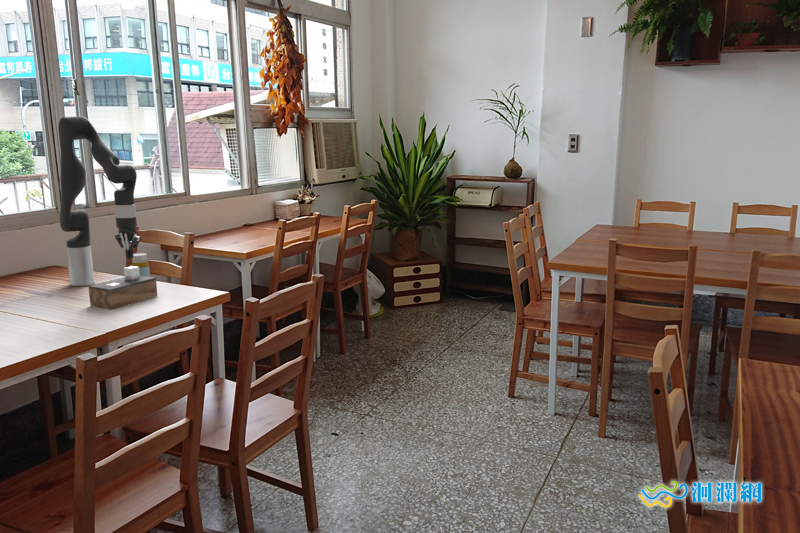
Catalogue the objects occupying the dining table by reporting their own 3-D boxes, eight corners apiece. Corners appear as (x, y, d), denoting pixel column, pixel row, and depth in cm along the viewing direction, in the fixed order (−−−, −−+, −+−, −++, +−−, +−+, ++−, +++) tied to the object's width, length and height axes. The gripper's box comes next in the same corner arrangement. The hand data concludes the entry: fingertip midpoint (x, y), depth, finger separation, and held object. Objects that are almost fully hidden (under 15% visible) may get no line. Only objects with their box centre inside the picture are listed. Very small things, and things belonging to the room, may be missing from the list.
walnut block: (90, 305, 233) (88, 285, 231) (136, 292, 252) (135, 274, 251) (111, 309, 228) (109, 289, 226) (157, 296, 247) (155, 277, 245)
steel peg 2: (125, 284, 242) (123, 267, 240) (133, 282, 245) (131, 265, 244) (132, 285, 240) (130, 268, 239) (140, 283, 244) (138, 266, 242)
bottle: (138, 290, 256) (135, 256, 253) (130, 288, 260) (127, 254, 257) (153, 287, 261) (150, 254, 258) (145, 285, 265) (142, 252, 262)
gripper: (106, 215, 236) (110, 258, 240) (129, 218, 230) (133, 261, 234) (122, 213, 243) (126, 255, 246) (145, 215, 237) (149, 258, 241)
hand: (129, 258), depth 240 cm, fingers closed
